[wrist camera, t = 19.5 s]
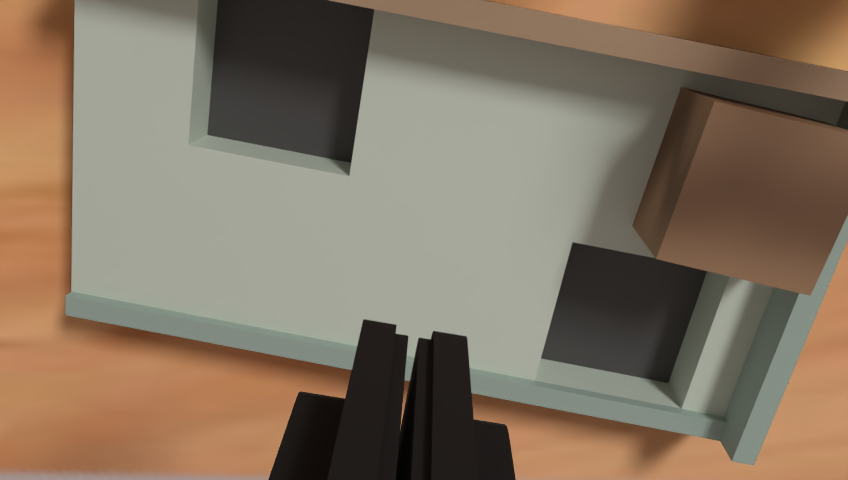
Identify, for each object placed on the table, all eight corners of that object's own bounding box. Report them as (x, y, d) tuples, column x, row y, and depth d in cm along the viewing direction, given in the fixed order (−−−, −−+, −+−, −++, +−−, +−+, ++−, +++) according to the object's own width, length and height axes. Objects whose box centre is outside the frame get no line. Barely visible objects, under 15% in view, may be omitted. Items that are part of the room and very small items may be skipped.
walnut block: (681, 87, 28) (714, 101, 24) (825, 122, 28) (881, 141, 24) (632, 225, 30) (656, 259, 26) (767, 257, 30) (810, 295, 26)
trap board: (106, -74, 29) (38, -87, 25) (848, 71, 30) (920, 85, 25) (97, 289, 35) (40, 334, 30) (719, 408, 35) (758, 472, 31)
